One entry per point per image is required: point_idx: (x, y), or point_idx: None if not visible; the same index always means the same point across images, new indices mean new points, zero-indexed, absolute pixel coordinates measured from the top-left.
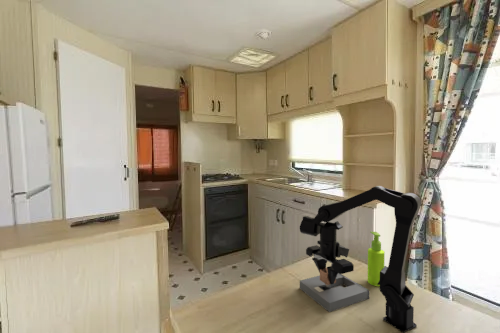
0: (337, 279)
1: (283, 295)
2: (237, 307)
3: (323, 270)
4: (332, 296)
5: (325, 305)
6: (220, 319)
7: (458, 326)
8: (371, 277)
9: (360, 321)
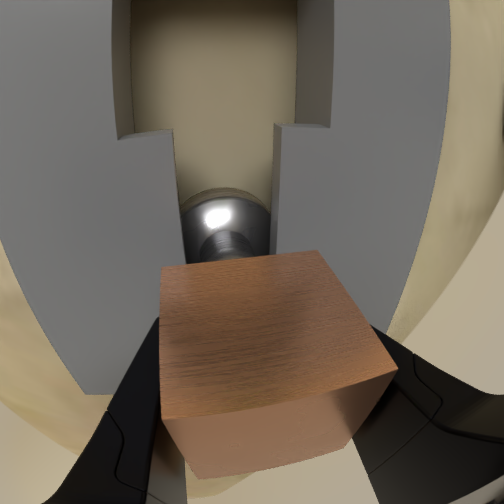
0: (113, 41)
1: None
2: (185, 472)
3: (247, 467)
4: None
5: None
6: (217, 481)
7: None
8: None
9: (461, 228)
